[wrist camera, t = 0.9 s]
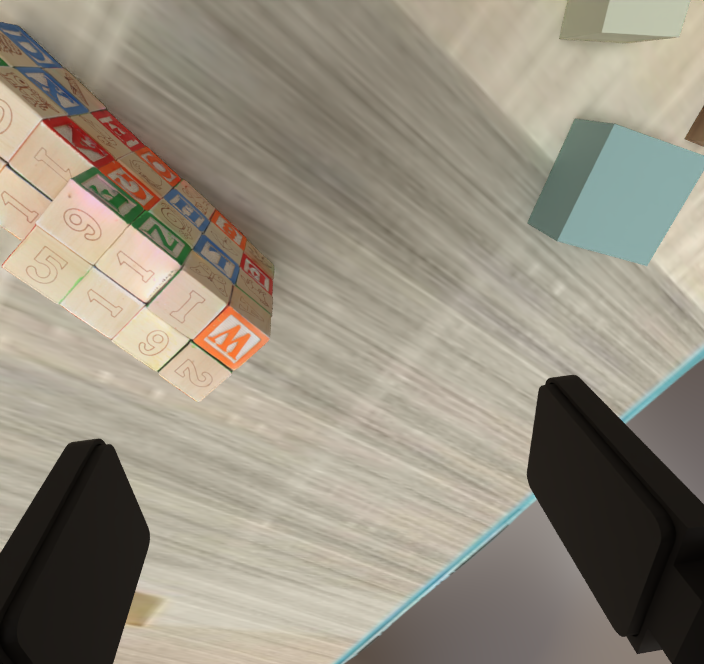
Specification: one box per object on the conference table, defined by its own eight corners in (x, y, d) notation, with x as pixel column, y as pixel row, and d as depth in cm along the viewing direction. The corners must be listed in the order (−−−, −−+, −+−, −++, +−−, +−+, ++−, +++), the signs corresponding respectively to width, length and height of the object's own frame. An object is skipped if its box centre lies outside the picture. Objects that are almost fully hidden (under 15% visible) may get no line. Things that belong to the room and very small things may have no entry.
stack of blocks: (-38, 100, 29) (-229, 112, 19) (18, 22, 28) (-153, -14, 17) (224, 315, 38) (198, 407, 28) (277, 265, 37) (272, 342, 26)
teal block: (573, 118, 34) (614, 123, 30) (660, 148, 36) (710, 158, 32) (526, 222, 38) (557, 241, 33) (607, 245, 40) (646, 265, 35)
